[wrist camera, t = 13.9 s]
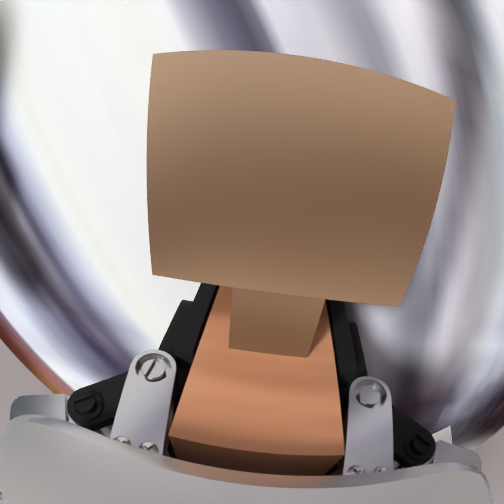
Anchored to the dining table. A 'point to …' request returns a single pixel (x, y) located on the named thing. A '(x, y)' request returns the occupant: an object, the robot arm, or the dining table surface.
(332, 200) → the wooden toy mallet
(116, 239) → the dining table surface
